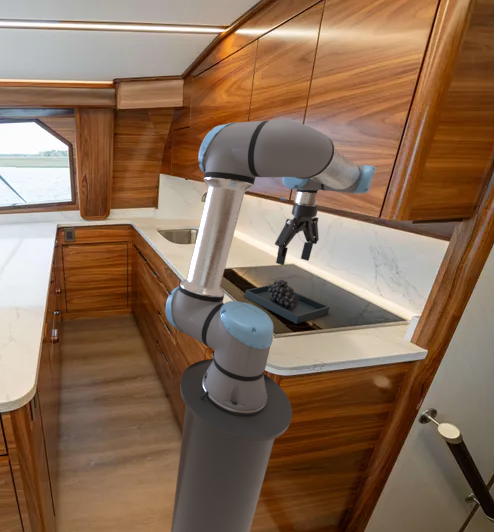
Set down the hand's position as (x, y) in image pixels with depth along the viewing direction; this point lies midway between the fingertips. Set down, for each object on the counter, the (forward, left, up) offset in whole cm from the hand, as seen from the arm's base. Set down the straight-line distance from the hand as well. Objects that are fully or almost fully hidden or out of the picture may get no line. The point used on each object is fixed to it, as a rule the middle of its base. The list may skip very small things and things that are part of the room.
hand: (292, 261), depth 111 cm
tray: (0, 0, -18) cm, 18 cm away
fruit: (-1, 0, -18) cm, 18 cm away
